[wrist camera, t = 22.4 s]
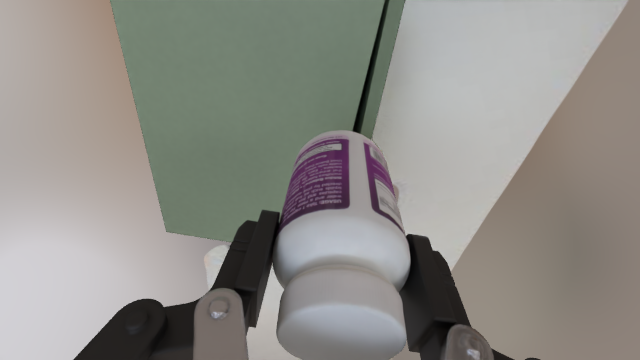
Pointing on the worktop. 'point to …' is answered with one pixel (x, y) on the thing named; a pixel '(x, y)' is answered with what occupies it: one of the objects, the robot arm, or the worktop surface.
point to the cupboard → (239, 96)
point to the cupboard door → (378, 67)
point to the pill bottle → (341, 254)
